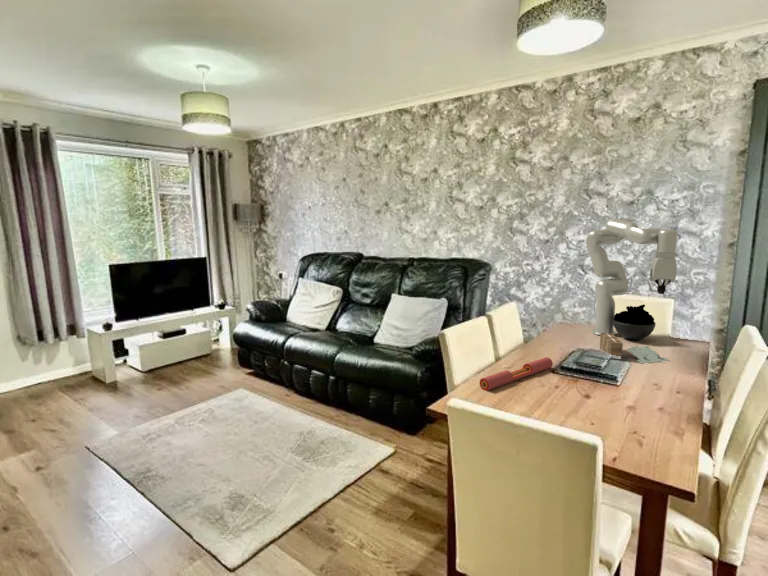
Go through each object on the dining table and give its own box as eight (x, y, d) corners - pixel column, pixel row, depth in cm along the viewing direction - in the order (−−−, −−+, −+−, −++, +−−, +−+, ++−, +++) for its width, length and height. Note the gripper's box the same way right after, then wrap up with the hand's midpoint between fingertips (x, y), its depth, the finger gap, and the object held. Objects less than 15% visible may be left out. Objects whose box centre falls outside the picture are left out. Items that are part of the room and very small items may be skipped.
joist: (599, 348, 214) (600, 332, 213) (610, 348, 213) (611, 333, 212) (609, 359, 197) (611, 342, 196) (621, 359, 196) (622, 342, 194)
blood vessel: (488, 392, 162) (489, 380, 161) (479, 388, 166) (479, 376, 166) (552, 369, 186) (553, 358, 185) (542, 366, 190) (543, 355, 189)
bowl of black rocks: (623, 344, 219) (625, 309, 217) (605, 334, 239) (607, 302, 236) (662, 344, 219) (665, 308, 216) (640, 334, 238) (643, 301, 236)
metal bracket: (622, 344, 201) (650, 342, 203) (619, 354, 203) (646, 352, 205) (644, 361, 188) (673, 359, 190) (640, 372, 190) (669, 369, 193)
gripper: (679, 255, 201) (675, 292, 204) (644, 254, 204) (640, 291, 208) (686, 257, 194) (681, 295, 197) (650, 256, 197) (646, 294, 201)
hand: (660, 293), depth 203 cm, fingers closed
